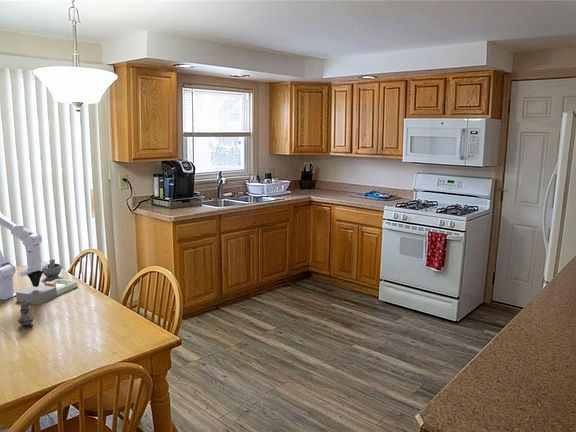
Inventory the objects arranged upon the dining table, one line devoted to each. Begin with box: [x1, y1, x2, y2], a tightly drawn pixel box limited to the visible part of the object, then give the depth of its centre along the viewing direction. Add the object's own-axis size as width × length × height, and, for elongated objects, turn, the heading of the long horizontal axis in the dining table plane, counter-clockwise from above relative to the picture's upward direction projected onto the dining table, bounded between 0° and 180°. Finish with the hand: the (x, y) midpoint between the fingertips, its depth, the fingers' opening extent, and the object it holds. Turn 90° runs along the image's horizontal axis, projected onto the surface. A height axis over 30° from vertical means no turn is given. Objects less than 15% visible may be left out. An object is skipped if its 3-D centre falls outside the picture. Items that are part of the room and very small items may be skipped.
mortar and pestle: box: [41, 258, 62, 281], centre depth 256 cm, size 11×9×12 cm
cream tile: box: [56, 284, 65, 289], centre depth 239 cm, size 5×5×2 cm
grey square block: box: [15, 284, 57, 305], centre depth 227 cm, size 12×12×4 cm
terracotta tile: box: [44, 281, 56, 287], centre depth 235 cm, size 5×5×2 cm
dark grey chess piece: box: [17, 300, 34, 330], centre depth 195 cm, size 6×6×12 cm
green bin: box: [43, 278, 79, 297], centre depth 240 cm, size 12×14×3 cm
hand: (35, 286), depth 226 cm, fingers closed
